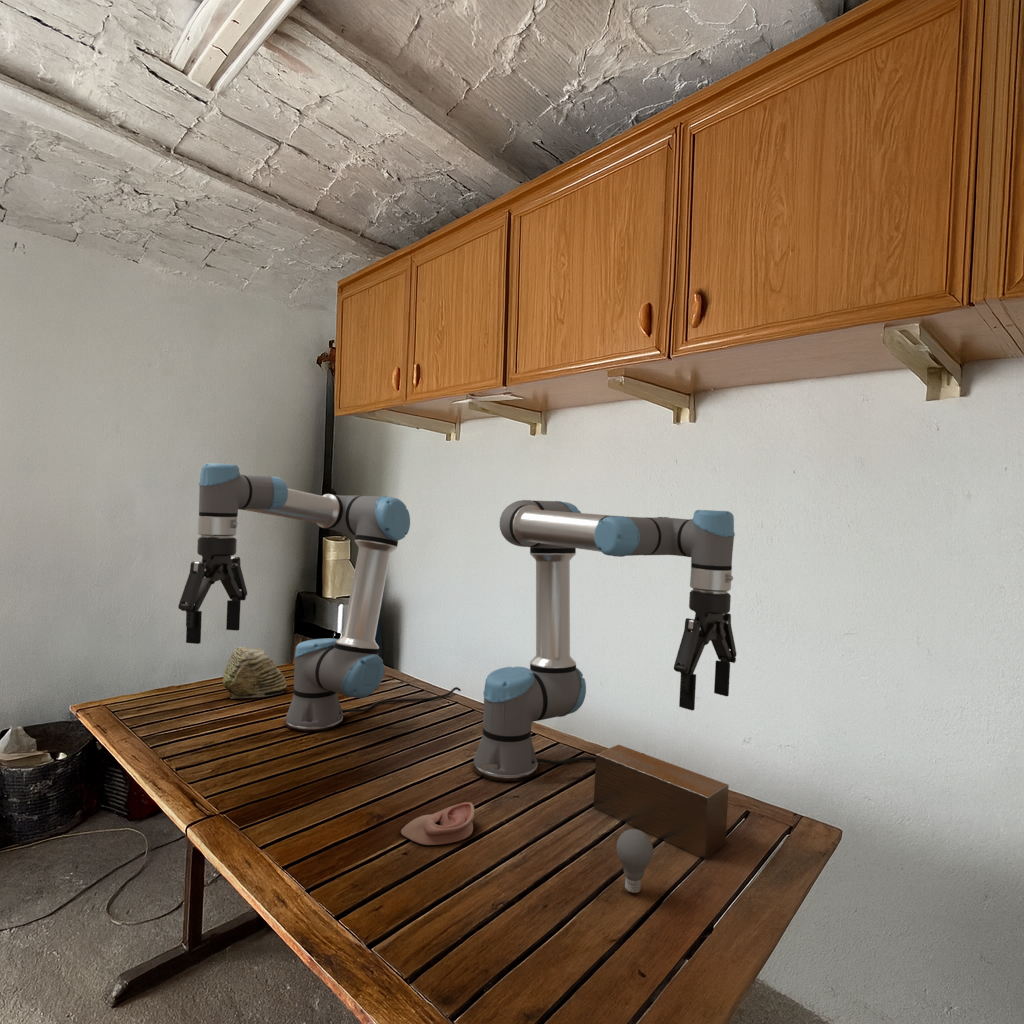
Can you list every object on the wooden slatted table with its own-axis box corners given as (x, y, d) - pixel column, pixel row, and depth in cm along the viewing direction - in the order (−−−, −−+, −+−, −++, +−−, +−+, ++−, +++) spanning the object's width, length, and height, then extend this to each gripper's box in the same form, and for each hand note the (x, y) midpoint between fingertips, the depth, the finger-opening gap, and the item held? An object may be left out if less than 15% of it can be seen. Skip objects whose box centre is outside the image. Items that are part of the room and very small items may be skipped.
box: (593, 807, 134) (595, 753, 134) (616, 795, 140) (618, 744, 140) (705, 859, 116) (708, 797, 116) (725, 843, 122) (728, 784, 122)
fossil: (218, 695, 195) (220, 647, 195) (278, 685, 208) (279, 640, 207) (228, 703, 189) (230, 653, 188) (289, 692, 201) (290, 645, 201)
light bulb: (610, 879, 108) (613, 822, 108) (644, 879, 109) (647, 822, 109) (619, 902, 102) (622, 840, 102) (655, 901, 103) (658, 840, 103)
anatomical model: (395, 819, 118) (416, 792, 129) (394, 840, 118) (415, 811, 129) (464, 829, 115) (479, 801, 126) (463, 851, 115) (479, 820, 126)
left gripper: (195, 540, 121) (191, 650, 122) (265, 534, 146) (262, 626, 146) (160, 538, 122) (156, 647, 123) (235, 533, 147) (232, 623, 148)
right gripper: (695, 598, 109) (689, 720, 110) (757, 588, 127) (752, 693, 128) (657, 592, 115) (652, 709, 115) (722, 584, 132) (717, 685, 133)
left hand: (214, 636), depth 135 cm, fingers open, 13 cm apart
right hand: (704, 701), depth 121 cm, fingers open, 13 cm apart
